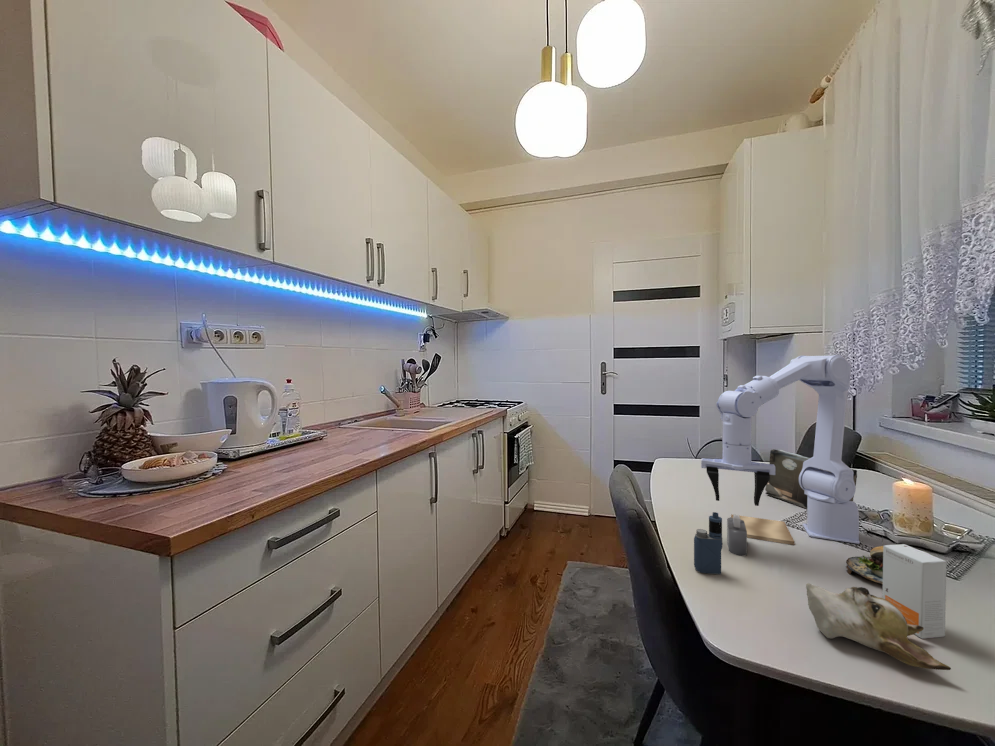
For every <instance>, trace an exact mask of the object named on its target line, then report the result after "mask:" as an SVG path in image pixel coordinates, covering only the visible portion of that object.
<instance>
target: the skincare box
mask: <svg viewBox="0 0 995 746" xmlns="http://www.w3.org/2000/svg"><path fill="white" fill-rule="evenodd" d="M882 546H883V584H882V592H881V593H882V597H881V598H884V599H886V600H887V601H889V602H890V603H891V604H893V605H894V606H895V607H896V608H897V609H898V610H899V611H900V612H901V613H902V615H903V616H904V617H905V619H906V622H907V624H911V625H919V626H921V627H923V628H924V629H923V630H922V631H920V632H917V633H915V634H914V635H915V636H916V637H918V638H920V639H923V640H924V639H931V638H932V639H935V638H944V637H945V636H946V607H947V606H946V603H947V602H946V601H947V599H946V597H947V596H946V595H947V561H946V560H944V559H942V558H940V557H937V556H935V555H932V554H931V553H928V552H926V551H923V550H919V549H917V548H915V547H913V546H910V545H908V544H904V543H902V544H886V545H884V544H883V545H882Z"/></svg>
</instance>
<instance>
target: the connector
mask: <svg viewBox="0 0 995 746" xmlns="http://www.w3.org/2000/svg"><path fill="white" fill-rule="evenodd" d="M732 515H733V518H731V517H727V519H726V520H727V521H726V540H727V541H726V542H727V547H728V548H727V549H728V552H729V553H730V554H732V555H735V556H738V557H739V556H741V557H744V556H747V554H748V553H747V552H748V547H747V546H748V539H747V530H746V526H745V523H744V521H743V520H741V519H740V516H741V515H740V514H735V513H734V514H732ZM739 515H740V516H739Z"/></svg>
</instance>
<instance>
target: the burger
mask: <svg viewBox="0 0 995 746" xmlns="http://www.w3.org/2000/svg"><path fill="white" fill-rule="evenodd" d="M881 538H882V539H881V540H882V541H881V543H882V544H884V539H883V538H884V537H881ZM883 546H884V545H881V546H875V547H873V548H871V549H870V551H869V554H870V556H865V555H862V556H850V557H848V558H847V559H846V561H845V563H846V566H845V568H846V572H847V574H848V575H852V572H854V573H856V574H858V575H859V576H861V577H863V578H865V579H867V580H869V581H872V582H875V583H878V584H880V585H883Z"/></svg>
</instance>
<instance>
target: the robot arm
mask: <svg viewBox="0 0 995 746" xmlns="http://www.w3.org/2000/svg"><path fill="white" fill-rule="evenodd" d="M851 373H852V364H851V363H850V362H849V361H848V359H846V358H845V356H843V355H841V354H832V355H798V356H797V357H795V358H792V359H791V360H790V361H789V363H788V364H787V365H786V366H784V367H782V368H781V369H780V370H778V371H776V372H775V373H773V374H772V375H770V376H767V375H755V376H753V377H752V380H751V381H749V382H747V383H745V384H740V385H738V386H737V388H736V389H734V390H726V391H723V392H722V393H721V394H720V396H719V397H718V400H717V402H715V405H716V409H717V411H718V413H719V414H720V415H719V416H720V420H721V422H722V458H704V457H703V458H701V459H700V463H701V464H700V467H701V469H706V474H707V476H708V478H709V480H710V482H711V485H712V488H713V491H714V495H715V501H717V502H719V501H720V490H719V488H720V487H719V486H720V485H719V480H720V478H719V477H720V474H719V470H728V471H736V472H748V473H753V474H754V476H753V477H754V491H753V493H754V494H753V503H754V506H757V507H758V506H760V499H761V497H762V494H763V493H764V490H765V487H766V485H767V483H768V482H769V480H770V476H769V474H770V475H775V465H773V464H770V463H763V462H758V461H752V417H754V416H755V415H756V414H757V413H758V410H759V408H760V407H762V405H763V406H764V404H766V403H768V402H770V401H771V400H773V399H775V398H777V397H778V395H779V394H780V390H781V389H783V388H785V387H787V386H789V385H791V384H793V383H795V382H798V381H799V382H801V383H803V384H805V385H807V386H808V387H809V388H812V389H813V390H814V391H815V392H816V393H817V394H818V403H817V413H816V424H815V433H814V435H815V438H814V446H813V456H812V457H809V458H810V459H808V460H806V461H804V462H803V468H802V471H801V473H800V475H799V484H800V487H801V488H802V489H803V490H804V494H806V495H808V496H807V509H806V514H807V515H806V517H807V518H806V519H807V520H806V521H807V522H806V523H804V522H803V523H802V527H803V528H804V531H805V532H806V534H807V535H808V536H809V537H812V538H818V539H823V540H829V541H830V540H831V541H836V542H844V543H851V544H857V545H858V544H861V541H860V515H859V513H860V512H859V508H858V505H857V504H856V502H855V501H854V500H853V501H849V500H850V499H851V498H852V497H853V496H854V497H855V493H856V488H857V487H855V483H854V479H853V474H854V472H853V471H852V470H851V469H852V468H850V467H849V466H848V465H847V464H846V463H845V462H844V461H843V460H842V457H843V446H844V444H843V443H844V434H845V422H846V414H847V413H846V410H847V402H848V392H849V390H850V388H851V387H850V386H851V375H852V374H851ZM820 469H822V470H820ZM824 470H826V471H824ZM828 471H830V472H828Z"/></svg>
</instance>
